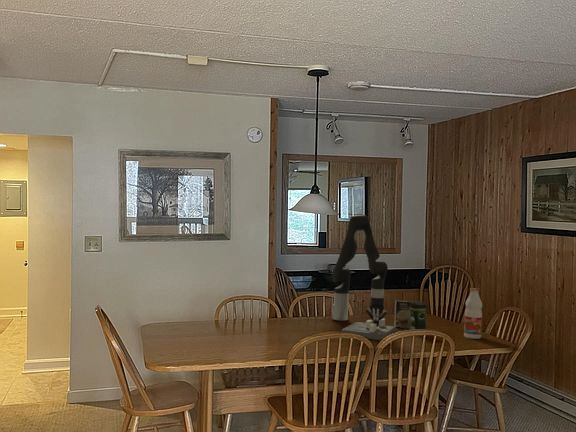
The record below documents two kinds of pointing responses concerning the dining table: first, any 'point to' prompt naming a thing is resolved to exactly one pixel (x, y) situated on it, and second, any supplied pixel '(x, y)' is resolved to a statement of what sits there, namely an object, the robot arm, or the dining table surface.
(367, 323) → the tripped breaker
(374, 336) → the grey flat square slab
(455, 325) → the dining table surface
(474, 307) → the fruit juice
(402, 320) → the coffee box
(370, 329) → the breaker near
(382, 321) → the breaker far
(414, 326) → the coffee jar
